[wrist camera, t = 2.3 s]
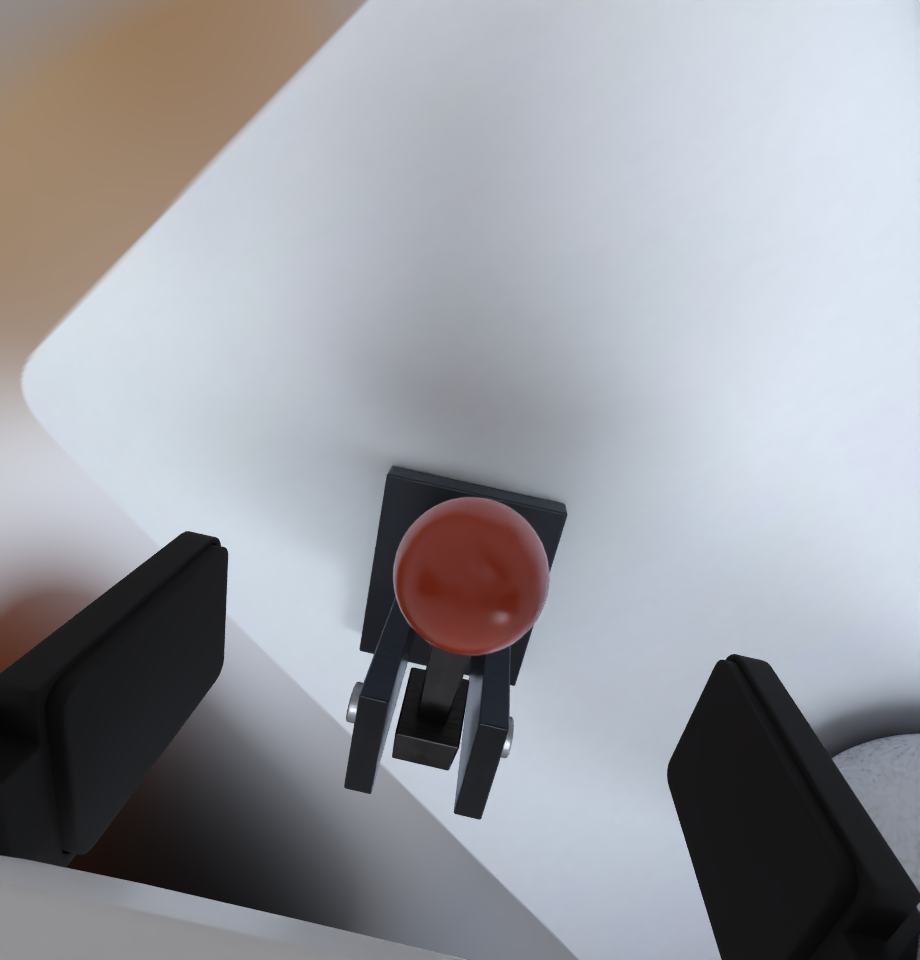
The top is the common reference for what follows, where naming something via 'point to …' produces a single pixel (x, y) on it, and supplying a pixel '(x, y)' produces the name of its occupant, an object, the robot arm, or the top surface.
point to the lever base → (401, 644)
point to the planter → (889, 792)
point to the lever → (461, 610)
